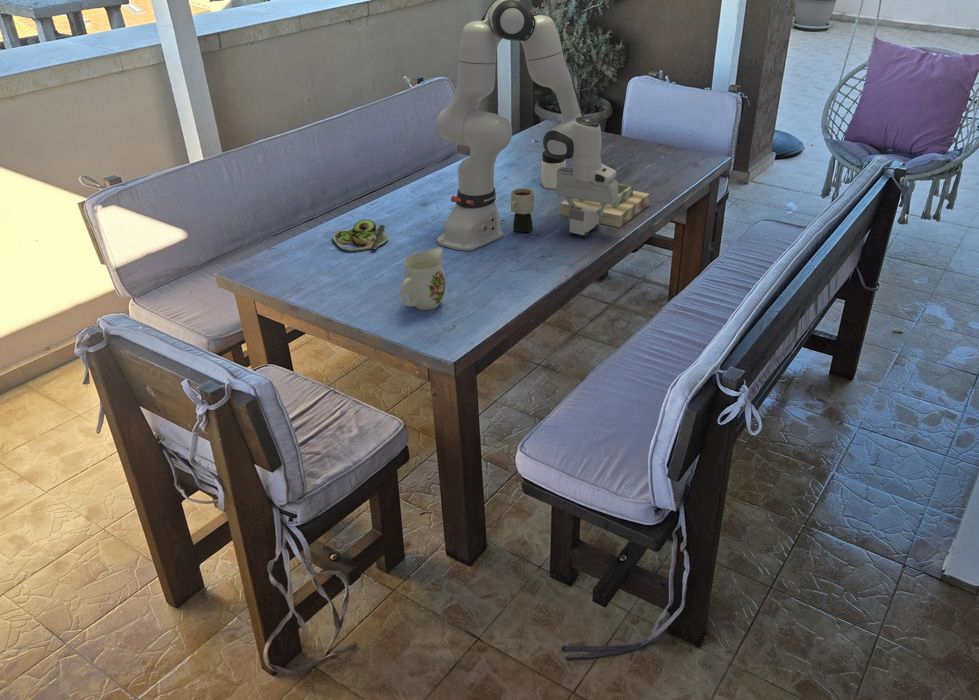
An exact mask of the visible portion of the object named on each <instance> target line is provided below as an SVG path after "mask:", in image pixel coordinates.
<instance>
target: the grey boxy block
mask: <svg viewBox="0 0 979 700" xmlns="http://www.w3.org/2000/svg"><path fill="white" fill-rule="evenodd" d="M597 210H598V209H594V208H589V207H584V208H582V209H581V210H576V209H571V208H570V209H569V216H568V219H569V231H568V234H569V235H570V236H574V235H575V234H577V235H579V236H582V238H584V239H588V238H589V235H590V231H591V230H592V229H593V230H594V231H599V229H600V225H599V224H600V223H599V215H597Z"/></svg>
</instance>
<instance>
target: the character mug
mask: <svg viewBox="0 0 979 700" xmlns="http://www.w3.org/2000/svg"><path fill="white" fill-rule="evenodd" d="M510 197H511V198H510V201H511V202H510V211H511V212H512V213H514V217H513V224H512V229H513V230H514V231H515V232H523V233H525V232H527V233H528V232H531V231H532V230H533V227H534V226H533V219H532V218H533V217H532V214H531V213H532V212H534V209H535V204H534V203H535V193H534V190H533V189H531V188H525V187H521V188H514V189H513V190H511V194H510Z"/></svg>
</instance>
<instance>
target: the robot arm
mask: <svg viewBox="0 0 979 700" xmlns="http://www.w3.org/2000/svg"><path fill="white" fill-rule="evenodd" d="M502 40H506V41H517V42H520V43H521V45H522V49H523V51H524V57H525V62H526V67H527V71H528V74H529V76H530V78H531V80H532V81H533V82H534V83H536V84H537V85H539V86H541V87H543V88H549V89H551V90H552V91H553V92H554V93H555V95H556V98H557V99H556V100H557V102H558V105H559V109H560V112H561V115H562V118H561V122H560V124H558V125H556V126H554V127H553V128H552V127H551V129H549V130H548V131H547V132H546V133H545V134H544V136H543V138H542V139H543V140H542V145H543V149H544V151H546V153H547V154H548V155H549V156H550V157H552V158H554V159H565V160H569V159H571V160H572V166H571V167H572V168H571V167H566V168H565V167H561V168H559V169H558V170H557V184H556V189H555V193H556V195H557V196H558V197H562V198H566V199H567V202H568V203H569V205H570V208H571V209H576V204H574V202H573V200H572V199H573V198H574V199H580V200H585V201H591V202H597V203H600V206H602V207H601V208H599V209H598V210H597V215H599V216H602V215H603V213H604V208H605V207H606V205H607V204H608V205H613V204H614V203H615V202H616V201H617V200H618V184H619V183H618V181H617V179H616V176H617V171H616V170H615V169H614V168H611V167H610V166H607V165H606V164H604V163H602V158H601V151H602V147H603V146H602V145H603V144H602V129H601V126H600V123H599V121H598V120H597V119H595V118H593V117H591V116H585V115H584V112H583V110H582V106H581V102H580V99H579V95H578V92H577V88H576V86H575V83H574V79H573V77H572V74H571V72H570V71H569V68H568V66H567V63H566V61H565V56H564V52H563V47H562V46H563V45H562V43H561V39H560V35H559V31H558V29H557V27H556V24H555V22H554V19H552V18H551V17H550V16H547V15H543V14H541V15H540V14H538V15H534V16H533V14H532V13H531V12H530V10H529V9H528V8H527V7H526V6H525V5H524V4H523V2H521V1H520V0H494V1H492V2H491V4H490V5H489V6H488V8H487V10H486V12H485V14H483V16H482V18H481V20H475V21H474V20H473V21H470V22H468V23H467V24H465V25H464V27H463V29H462V31H461V36H460V41H459V48H458V61H457V63H458V64H457V79H456V86H455V91H454V93H453V96H452V99H451V100H450V102H449V104H448V105H447V106H446V107H445V108H444V109H442V110H441V111H440V113H438V116H437V120H436V123H435V124H436V131H437V133H438V135H439V137H440V138H441V139H444V140H446V141H447V142H450V143H452V144H454V145H459V146H465V147H468V148H469V150H470V153H469V157H466V158H465V159H463V160H462V161H461V162H460V164H459V165H458V167H457V172H458V173H457V177H458V178H457V179H458V189H457V193H456V195H451V197H450V201H451V203H455V206H453V208H452V210H451V212H450V214H449V215H448V217H447V218H446V220H445V221H444V223H443V233H441V234H440V235H439V236H438V237H437V239H436V243H437V244H438V245H440V246H441V247H445V248H448V249H452V250H456V251H466V252H467V251H474V250H476V249H479V248H481V247H483V246H485V245H487V244H490V243H491V242H494V241H497V240H499V239H501V238H502V237H504V232H503V231H502V229H501V223H500V215H499V210H498V208H497V204H496V199H497V198H496V196H497V192H496V187H495V184H494V183H495V179H494V177H495V174H494V173H495V164H496V160H497V158H498V156H499V154H500V153H501V152H502V151H504V150H505V148H507V147H508V146H509V144H510V143H511V140H512V138H513V127H512V124H511V123H510V121H509V119H507V118H505V117H503V116H501V115H500V114H497V113H493V112H488V111H483V110H480V104H481V102H482V100H483V99H484V98H486V97H487V96H489V95H491V93H493V91H494V90H495V83H496V63H497V50H498V46H499V44H500V42H501V41H502ZM560 169H561V170H560Z"/></svg>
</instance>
